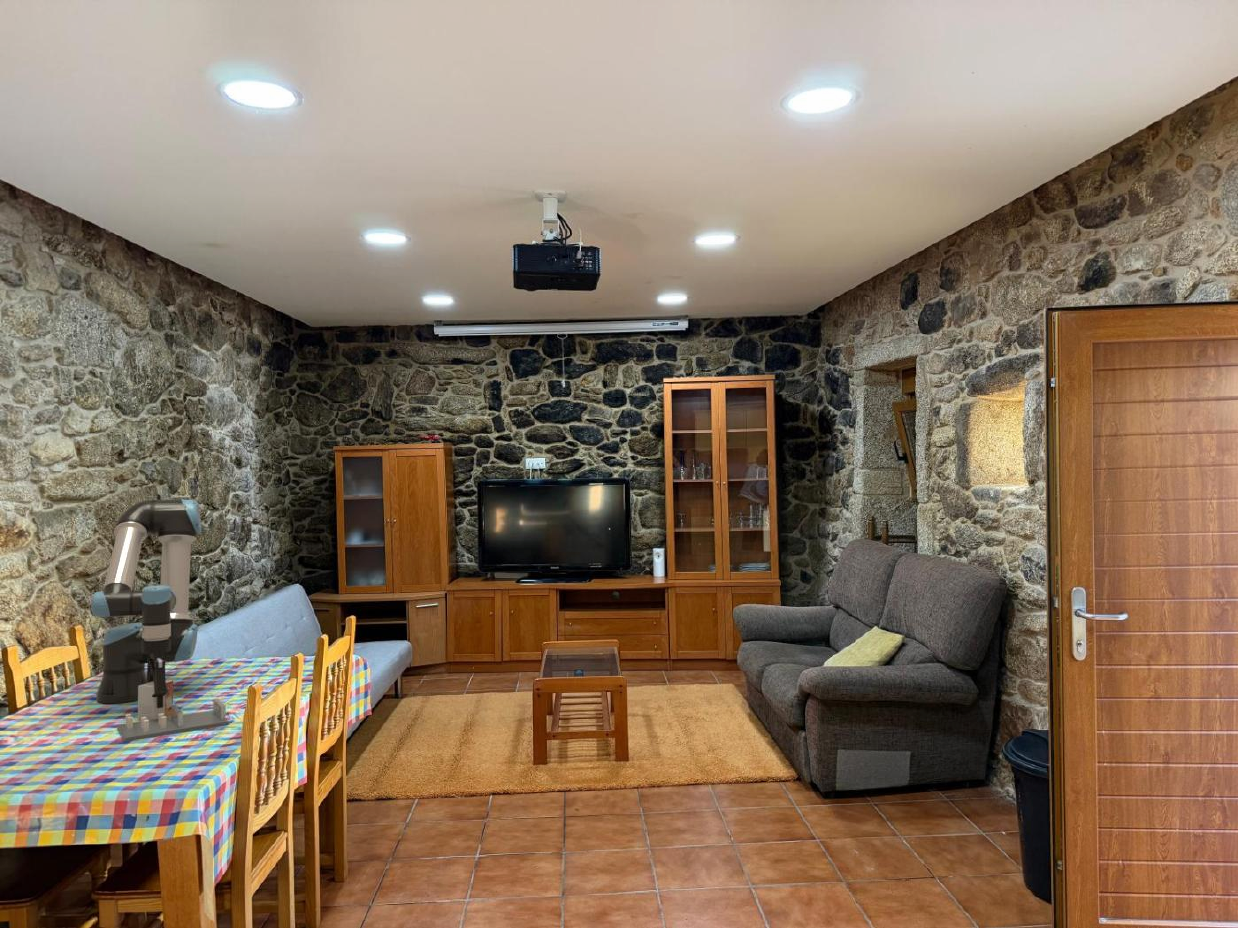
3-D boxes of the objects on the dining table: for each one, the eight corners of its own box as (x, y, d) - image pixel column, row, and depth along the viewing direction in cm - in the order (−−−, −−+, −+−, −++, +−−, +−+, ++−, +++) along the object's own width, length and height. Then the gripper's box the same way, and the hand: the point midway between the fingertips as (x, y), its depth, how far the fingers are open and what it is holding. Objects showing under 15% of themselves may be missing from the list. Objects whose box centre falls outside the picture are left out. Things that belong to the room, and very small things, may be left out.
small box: (153, 722, 248) (154, 686, 248) (137, 721, 249) (137, 685, 249) (173, 715, 256) (173, 679, 256) (157, 714, 257) (157, 678, 257)
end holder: (171, 719, 248) (171, 705, 248) (217, 712, 256) (217, 698, 256) (178, 727, 240) (178, 713, 240) (225, 719, 248) (225, 705, 248)
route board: (116, 728, 243) (117, 714, 243) (216, 713, 258) (216, 699, 258) (124, 741, 231) (124, 726, 231) (228, 724, 246) (228, 710, 247)
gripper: (135, 635, 260) (135, 709, 259) (148, 645, 242) (148, 725, 241) (163, 632, 264) (163, 705, 264) (177, 642, 246) (177, 720, 246)
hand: (155, 714), depth 252 cm, fingers open, 10 cm apart
